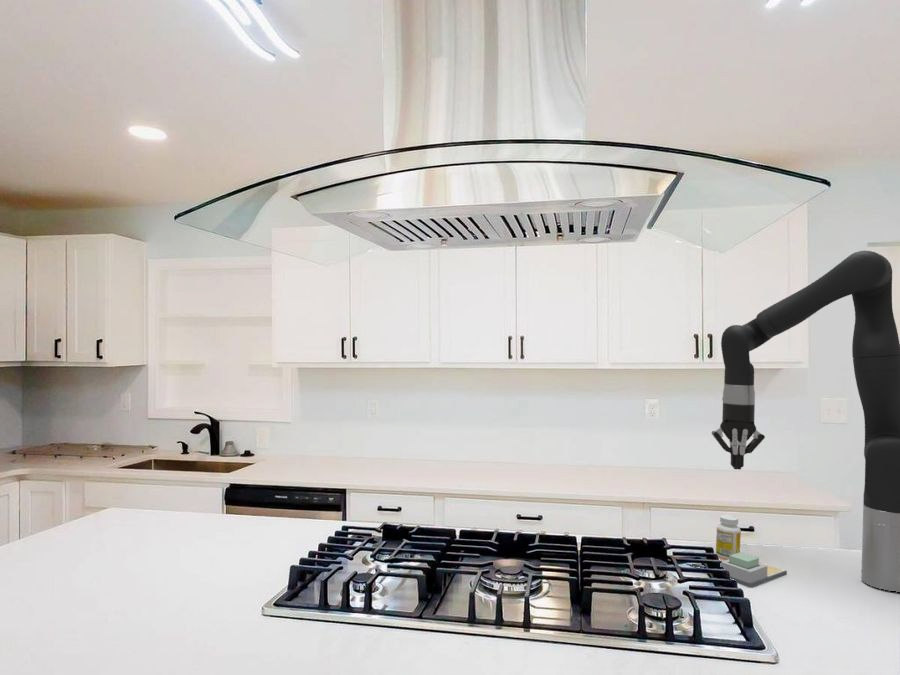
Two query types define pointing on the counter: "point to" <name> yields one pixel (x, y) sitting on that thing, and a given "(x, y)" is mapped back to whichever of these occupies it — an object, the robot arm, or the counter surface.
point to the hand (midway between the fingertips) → (737, 468)
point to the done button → (744, 560)
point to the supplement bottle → (728, 537)
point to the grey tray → (750, 573)
